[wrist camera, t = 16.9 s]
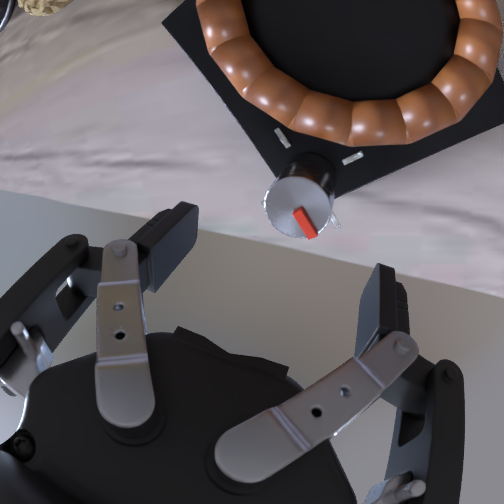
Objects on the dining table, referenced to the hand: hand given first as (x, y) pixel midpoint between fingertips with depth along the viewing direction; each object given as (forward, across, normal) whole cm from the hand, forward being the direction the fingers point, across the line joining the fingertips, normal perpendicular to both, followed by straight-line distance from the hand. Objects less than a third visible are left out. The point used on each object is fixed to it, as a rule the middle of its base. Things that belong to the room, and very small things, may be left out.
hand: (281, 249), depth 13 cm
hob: (+11, 0, -8) cm, 13 cm away
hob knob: (+8, 0, 0) cm, 8 cm away
